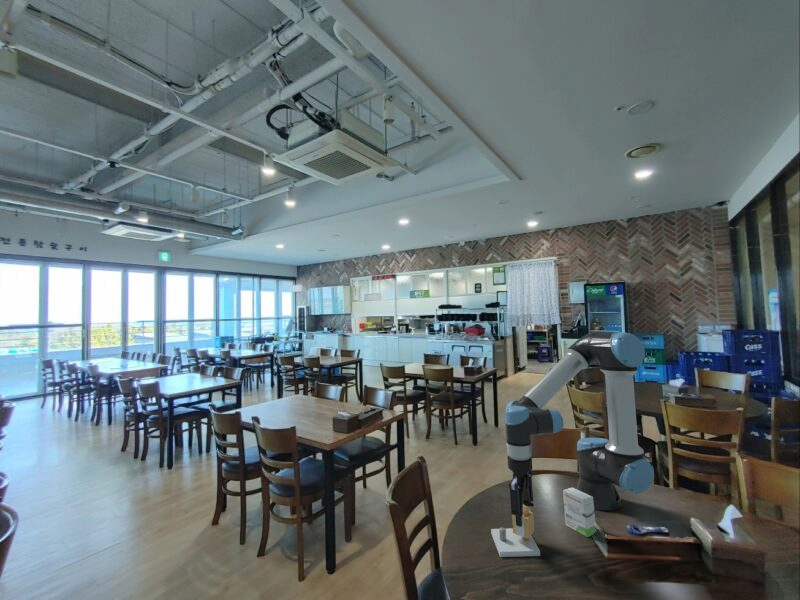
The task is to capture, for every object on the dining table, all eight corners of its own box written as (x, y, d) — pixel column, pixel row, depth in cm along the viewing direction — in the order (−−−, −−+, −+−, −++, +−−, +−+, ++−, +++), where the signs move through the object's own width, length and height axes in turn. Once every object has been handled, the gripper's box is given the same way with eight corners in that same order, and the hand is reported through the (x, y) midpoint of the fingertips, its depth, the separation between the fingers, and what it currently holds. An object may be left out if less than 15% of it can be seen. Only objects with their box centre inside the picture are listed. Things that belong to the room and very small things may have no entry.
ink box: (597, 533, 117) (594, 496, 118) (587, 538, 115) (584, 500, 116) (574, 521, 125) (571, 486, 126) (564, 525, 123) (561, 489, 124)
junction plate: (527, 532, 120) (526, 517, 120) (540, 555, 108) (539, 539, 108) (491, 533, 120) (490, 519, 120) (500, 557, 108) (499, 540, 108)
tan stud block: (534, 530, 114) (533, 508, 115) (528, 538, 110) (527, 515, 111) (519, 525, 117) (517, 503, 118) (513, 532, 114) (511, 510, 114)
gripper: (518, 445, 125) (523, 515, 123) (496, 462, 111) (501, 541, 109) (540, 450, 120) (545, 522, 118) (520, 468, 106) (525, 550, 105)
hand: (524, 531), depth 114 cm, fingers closed on tan stud block, 5 cm apart
